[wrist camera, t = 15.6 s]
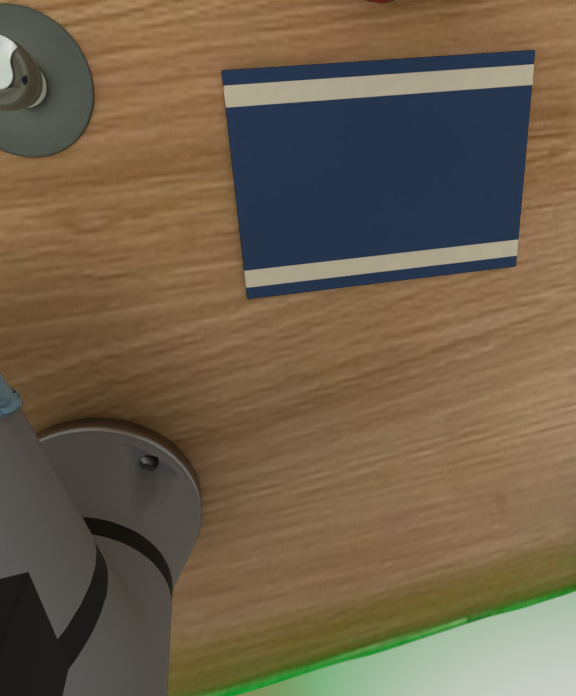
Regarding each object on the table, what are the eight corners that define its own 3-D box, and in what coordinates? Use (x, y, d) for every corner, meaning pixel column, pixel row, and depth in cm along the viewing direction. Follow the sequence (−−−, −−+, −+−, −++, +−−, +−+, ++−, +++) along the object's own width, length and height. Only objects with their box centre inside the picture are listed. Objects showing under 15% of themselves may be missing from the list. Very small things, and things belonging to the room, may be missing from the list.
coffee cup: (-104, 151, 29) (-161, 150, 24) (-77, -89, 25) (-138, -143, 21) (111, 220, 32) (96, 232, 27) (160, 15, 28) (153, -12, 24)
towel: (247, 297, 35) (247, 299, 35) (221, 71, 30) (221, 70, 30) (513, 265, 38) (516, 266, 37) (531, 51, 32) (535, 49, 32)
